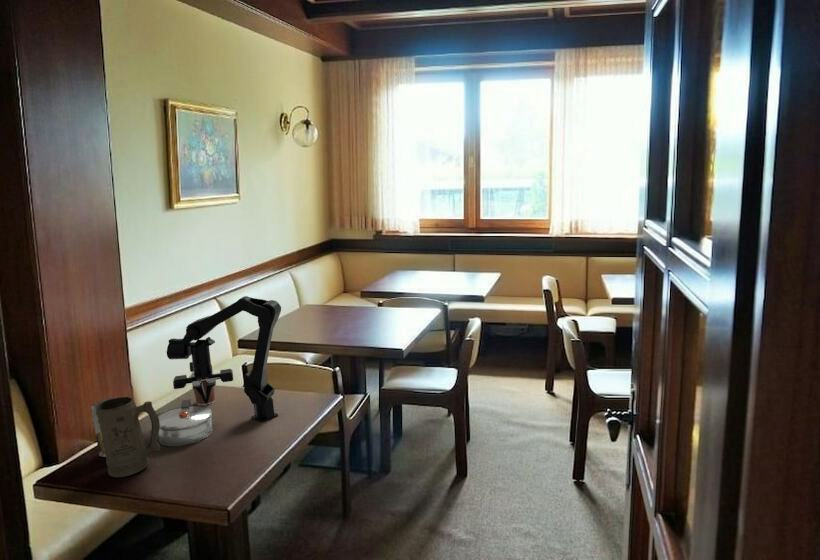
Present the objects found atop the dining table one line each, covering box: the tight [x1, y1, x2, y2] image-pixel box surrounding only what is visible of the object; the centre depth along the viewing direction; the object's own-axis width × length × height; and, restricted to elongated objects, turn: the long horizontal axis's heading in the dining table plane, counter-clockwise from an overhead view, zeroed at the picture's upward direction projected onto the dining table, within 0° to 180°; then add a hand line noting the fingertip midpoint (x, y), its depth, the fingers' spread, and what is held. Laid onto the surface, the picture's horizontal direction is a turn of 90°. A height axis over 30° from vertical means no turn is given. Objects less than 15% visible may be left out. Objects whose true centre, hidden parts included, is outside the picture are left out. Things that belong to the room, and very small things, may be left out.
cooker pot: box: [157, 411, 214, 447], centre depth 203 cm, size 22×16×5 cm
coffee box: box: [90, 397, 114, 458], centre depth 189 cm, size 9×6×16 cm
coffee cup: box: [188, 370, 217, 406], centre depth 230 cm, size 9×9×12 cm
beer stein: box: [96, 396, 161, 478], centre depth 179 cm, size 15×11×20 cm
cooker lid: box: [158, 399, 213, 430], centre depth 204 cm, size 23×17×2 cm
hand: (206, 403), depth 214 cm, fingers closed
